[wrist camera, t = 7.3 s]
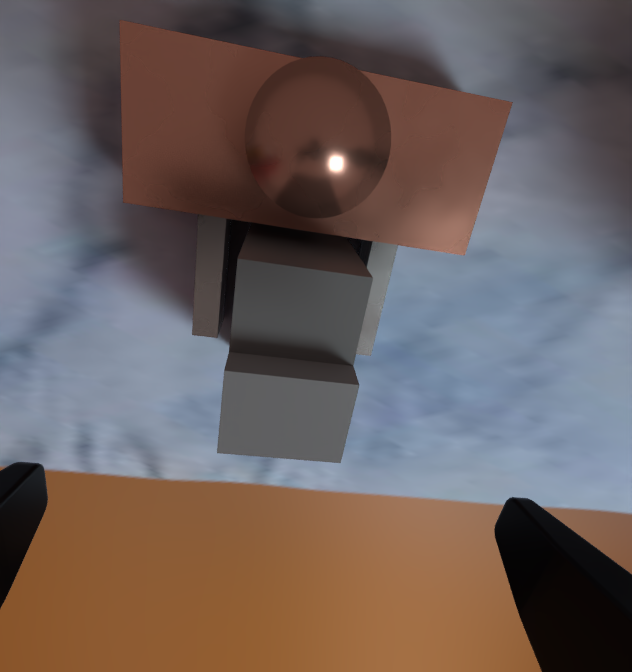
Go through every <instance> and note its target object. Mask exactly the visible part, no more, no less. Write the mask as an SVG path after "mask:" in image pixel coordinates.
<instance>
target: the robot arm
mask: <svg viewBox="0 0 632 672" xmlns="http://www.w3.org/2000/svg"><path fill="white" fill-rule="evenodd" d="M47 500H48V496H47V487H46V479H45V471H44V467H43V466H42V465H41V464H39V463H29V462H16V463H13V464H11V465H10V466H8V467H6V468H4V469H3V470H1V471H0V608H1V606H2V604H3V603H4V601H5V599H6V596H7V595H8V592H9V590H10V588H11V586H12V584H13V582H14V580H15V577H16V575H17V573H18V571H19V568H20V566H21V564H22V561H23V559H24V557H25V555H26V553H27V550H28V548H29V546H30V544H31V541H32V539H33V537H34V535H35V533H36V530H37V528H38V526H39V524H40V521H41V519H42V517H43V515H44V512H45V510H46V506H47ZM495 538H496V542H497V545H498V548H499V552H500V555H501V558H502V561H503V565H504V568H505V571H506V574H507V578H508V581H509V584H510V588H511V591H512V594H513V597H514V600H515V604H516V607H517V609H518V613H519V616H520V618H521V621H522V623H523V626H524V629H525V631H526V634H527V636H528V639H529V641H530V643H531V646H532V648H533V651H534V653H535V656H536V658H537V661H538V663H539V665H540V668H541V671H542V672H632V574H630V573H629V572H628V571H627V570H625V569H624V568H622V567H621V566H620V565H618V564H617V563H615V562H614V561H613V560H612V559H610V558H609V557H608V556H606V555H605V554H603V553H602V552H601V551H600V550H598V549H597V548H595V547H594V546H593V545H591V544H590V543H589V542H587V541H586V540H585V539H583V538H582V537H581V536H579V535H578V534H577V533H575V532H574V531H573V530H571V529H570V528H568V527H567V526H565V524H563V523H562V522H560V521H559V520H558V519H556V518H555V517H554V516H552V515H551V514H550V513H548V512H547V511H546V510H544V509H543V508H542V507H540V506H539V505H538V504H536V503H535V502H534V501H532V500H530V499H527V498H516V497H512V498H509V499H508V500H507V501H506V503H505V505H504V507H503V509H502V511H501V513H500V515H499V518H498V520H497V522H496V525H495Z"/></svg>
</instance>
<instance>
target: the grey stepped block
mask: <svg viewBox="0 0 632 672" xmlns="http://www.w3.org/2000/svg"><path fill="white" fill-rule="evenodd" d="M372 282H373V277H372V275H371V274H370V272H369V271H368V269H367V268H366V266H365V265H364V263H363V262H362V260H361V259H360V257H359V256H358V254H357V253H356V251H355V250H354V248H353V247H352V245H351V244H350V242H349V241H348V239H347V238H346V237H343V236H336V235H330V234H323V233H317V232H310V231H304V230H297V229H291V228H285V227H278V226H272V225H265V224H259V223H252V222H251V225H250V227H249V230H248V233H247V235H246V238H245V241H244V243H243V246H242V248H241V251H240V254H239V256H238V260H237V271H236V282H235V293H234V304H233V315H232V326H231V337H230V347H229V354H228V358H227V362H226V366H225V370H224V380H223V391H222V403H221V414H220V426H219V437H218V448H217V453H223V454H236V455H248V456H260V457H273V458H285V459H297V460H310V461H322V462H334V463H341V459H342V455H343V451H344V447H345V442H346V438H347V434H348V430H349V426H350V422H351V417H352V413H353V409H354V405H355V401H356V397H357V393H358V388H359V383H358V380H357V376H356V373H355V370H354V367H353V365H354V360H355V356H356V351H357V347H358V343H359V338H360V334H361V330H362V325H363V321H364V317H365V312H366V308H367V303H368V299H369V295H370V290H371V286H372Z"/></svg>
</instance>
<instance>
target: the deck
mask: <svg viewBox="0 0 632 672" xmlns="http://www.w3.org/2000/svg"><path fill="white" fill-rule="evenodd" d="M120 67H121V116H122V166H123V203H130V204H136V205H142V206H149V207H155V208H162V209H168V210H175V211H181V212H188V213H194V214H198V229H197V249H196V269H195V289H194V308H193V328H192V335H197V336H206V337H214V338H217V337H218V334H219V331H220V328H221V325H222V322H223V318H224V306H225V294H226V281H227V269H228V257H229V245H230V233H231V221H232V219H233V220H239V221H246V222H252V223H259V224H265V225H272V226H278V227H285V228H291V229H297V230H304V231H310V232H317V233H323V234H330V235H336V236H343V237H349V238H356V239H362V241H361V246H360V251H359V255H358V256H359V257H360V259H361V260H362V262H363V263H364V265H365V266H366V268H367V269H368V271H369V272H370V274H371V275H372V277H373V282H372V286H371V290H370V295H369V299H368V303H367V308H366V312H365V317H364V321H363V325H362V330H361V334H360V338H359V343H358V347H357V351H356V354H359V355H368V356H371V353H372V349H373V345H374V341H375V336H376V332H377V328H378V324H379V320H380V316H381V312H382V308H383V304H384V300H385V296H386V292H387V288H388V284H389V280H390V275H391V271H392V267H393V263H394V259H395V255H396V251H397V247H398V245H401V246H407V247H414V248H420V249H427V250H433V251H439V252H446V253H452V254H459V255H465V252H466V249H467V246H468V243H469V240H470V237H471V233H472V230H473V227H474V224H475V221H476V217H477V214H478V211H479V208H480V205H481V201H482V198H483V195H484V192H485V189H486V185H487V182H488V179H489V176H490V173H491V170H492V166H493V163H494V160H495V157H496V154H497V150H498V147H499V144H500V141H501V138H502V134H503V131H504V128H505V125H506V122H507V119H508V115H509V112H510V109H511V106H512V103H513V102H508V101H504V100H499V99H494V98H489V97H485V96H480V95H475V94H470V93H466V92H461V91H456V90H451V89H447V88H442V87H437V86H432V85H427V84H423V83H418V82H413V81H408V80H404V79H399V78H394V77H389V76H385V75H380V74H375V73H370V72H366V71H361V70H358V69H357V68H355V67H354V66H352V65H350V64H348V63H346V62H344V61H341V60H338V59H335V58H330V57H323V56H316V57H307V58H299V57H294V56H289V55H285V54H280V53H275V52H270V51H266V50H261V49H256V48H251V47H247V46H242V45H237V44H232V43H228V42H223V41H218V40H213V39H208V38H204V37H199V36H194V35H189V34H185V33H180V32H175V31H170V30H166V29H161V28H156V27H151V26H147V25H142V24H137V23H132V22H128V21H123V20H120Z"/></svg>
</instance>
